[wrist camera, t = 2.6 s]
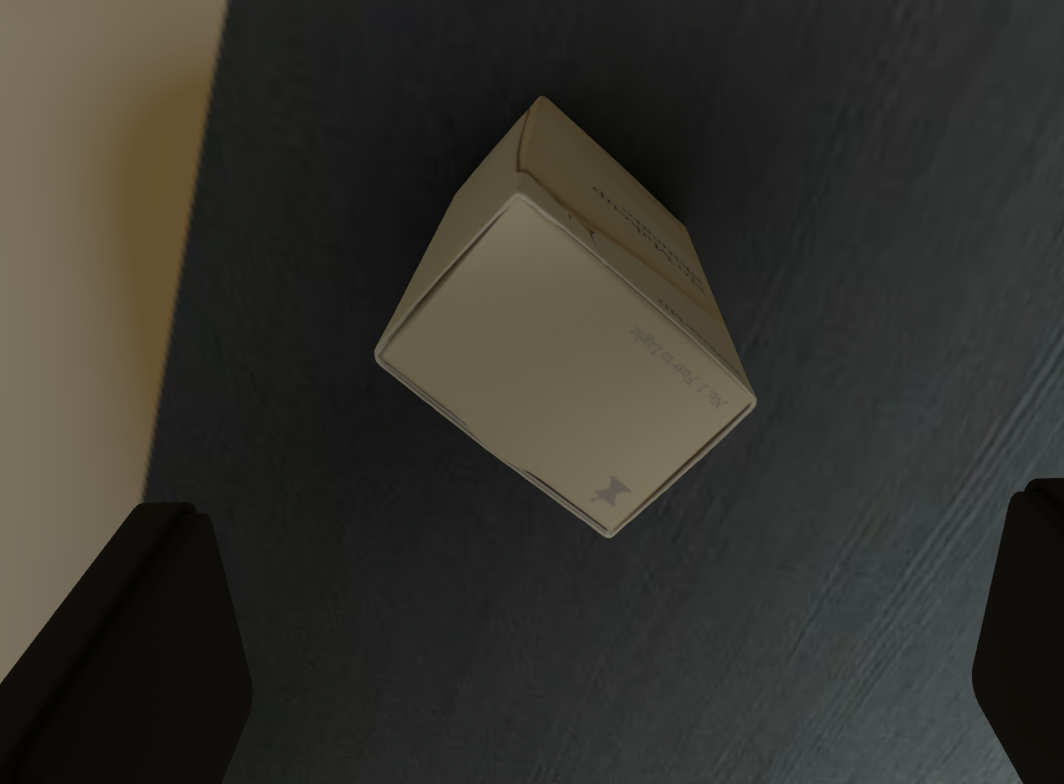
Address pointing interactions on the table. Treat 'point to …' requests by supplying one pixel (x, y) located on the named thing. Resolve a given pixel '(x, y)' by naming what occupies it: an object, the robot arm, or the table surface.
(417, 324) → the cosmetic box
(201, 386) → the table surface
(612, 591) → the table surface
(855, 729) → the table surface
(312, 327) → the table surface
